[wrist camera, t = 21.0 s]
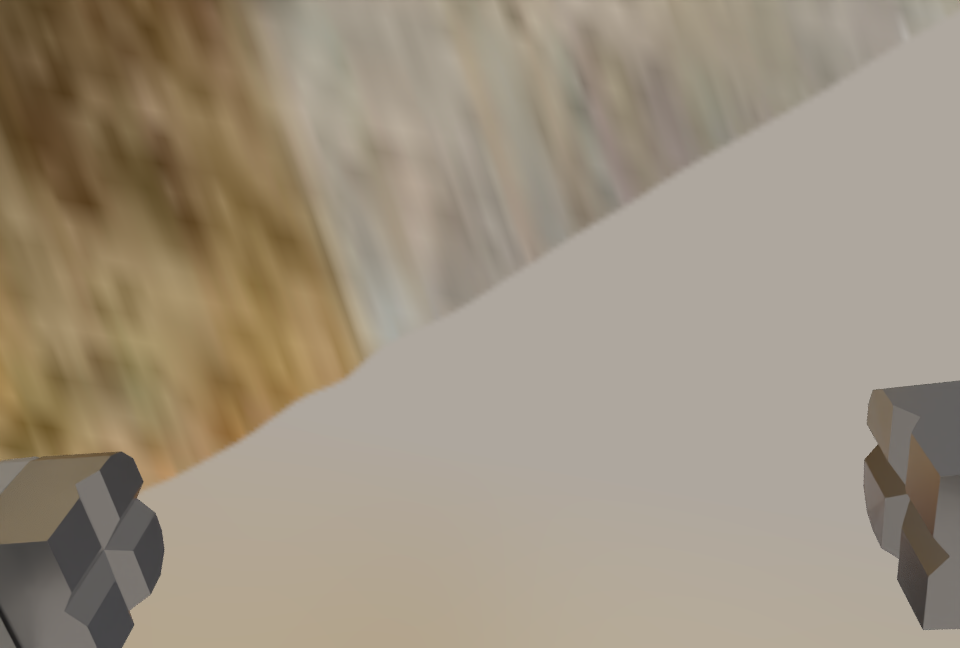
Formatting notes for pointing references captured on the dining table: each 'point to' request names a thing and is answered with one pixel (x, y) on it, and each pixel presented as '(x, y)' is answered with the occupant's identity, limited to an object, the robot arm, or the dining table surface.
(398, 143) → the dining table surface
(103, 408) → the dining table surface
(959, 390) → the robot arm
